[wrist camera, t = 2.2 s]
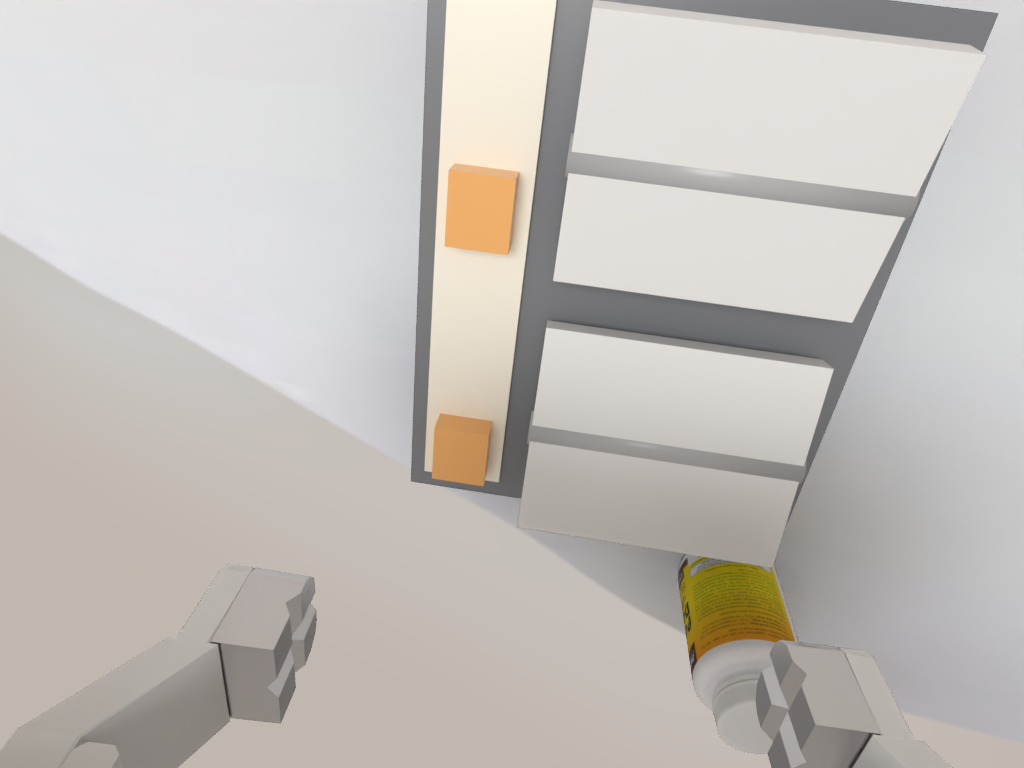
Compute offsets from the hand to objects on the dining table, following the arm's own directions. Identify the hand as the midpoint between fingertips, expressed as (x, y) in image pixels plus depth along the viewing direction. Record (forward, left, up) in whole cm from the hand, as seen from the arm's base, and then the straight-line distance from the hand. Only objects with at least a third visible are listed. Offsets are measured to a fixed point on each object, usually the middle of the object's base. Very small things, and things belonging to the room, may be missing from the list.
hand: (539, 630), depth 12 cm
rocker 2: (-5, +6, -15) cm, 17 cm away
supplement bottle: (-12, +18, -22) cm, 31 cm away
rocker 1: (-5, -5, -15) cm, 17 cm away
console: (-3, 0, -22) cm, 22 cm away
